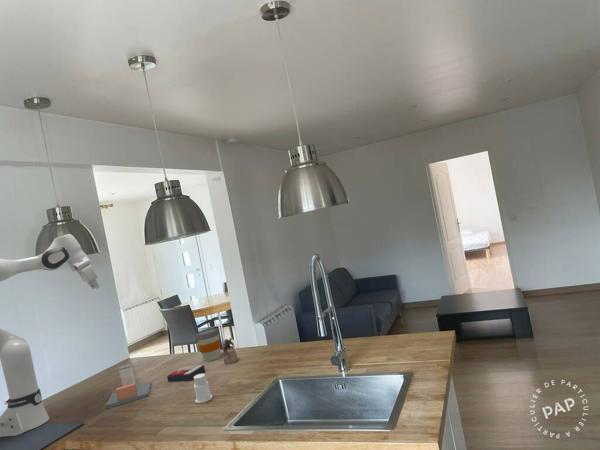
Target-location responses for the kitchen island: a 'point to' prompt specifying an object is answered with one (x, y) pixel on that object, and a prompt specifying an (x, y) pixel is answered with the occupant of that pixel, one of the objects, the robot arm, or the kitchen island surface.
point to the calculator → (186, 373)
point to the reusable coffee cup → (209, 344)
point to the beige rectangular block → (126, 375)
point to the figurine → (229, 352)
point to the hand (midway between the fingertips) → (96, 288)
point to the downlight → (201, 389)
